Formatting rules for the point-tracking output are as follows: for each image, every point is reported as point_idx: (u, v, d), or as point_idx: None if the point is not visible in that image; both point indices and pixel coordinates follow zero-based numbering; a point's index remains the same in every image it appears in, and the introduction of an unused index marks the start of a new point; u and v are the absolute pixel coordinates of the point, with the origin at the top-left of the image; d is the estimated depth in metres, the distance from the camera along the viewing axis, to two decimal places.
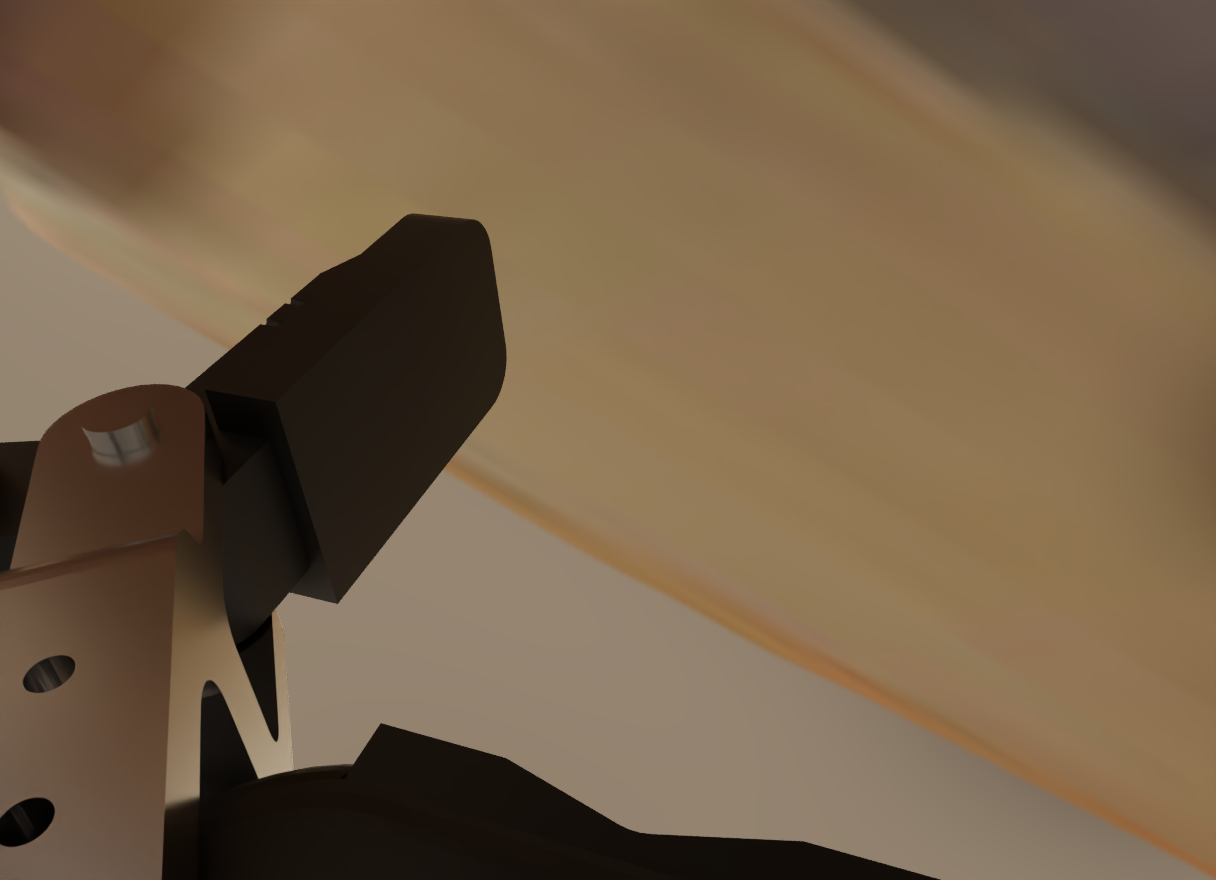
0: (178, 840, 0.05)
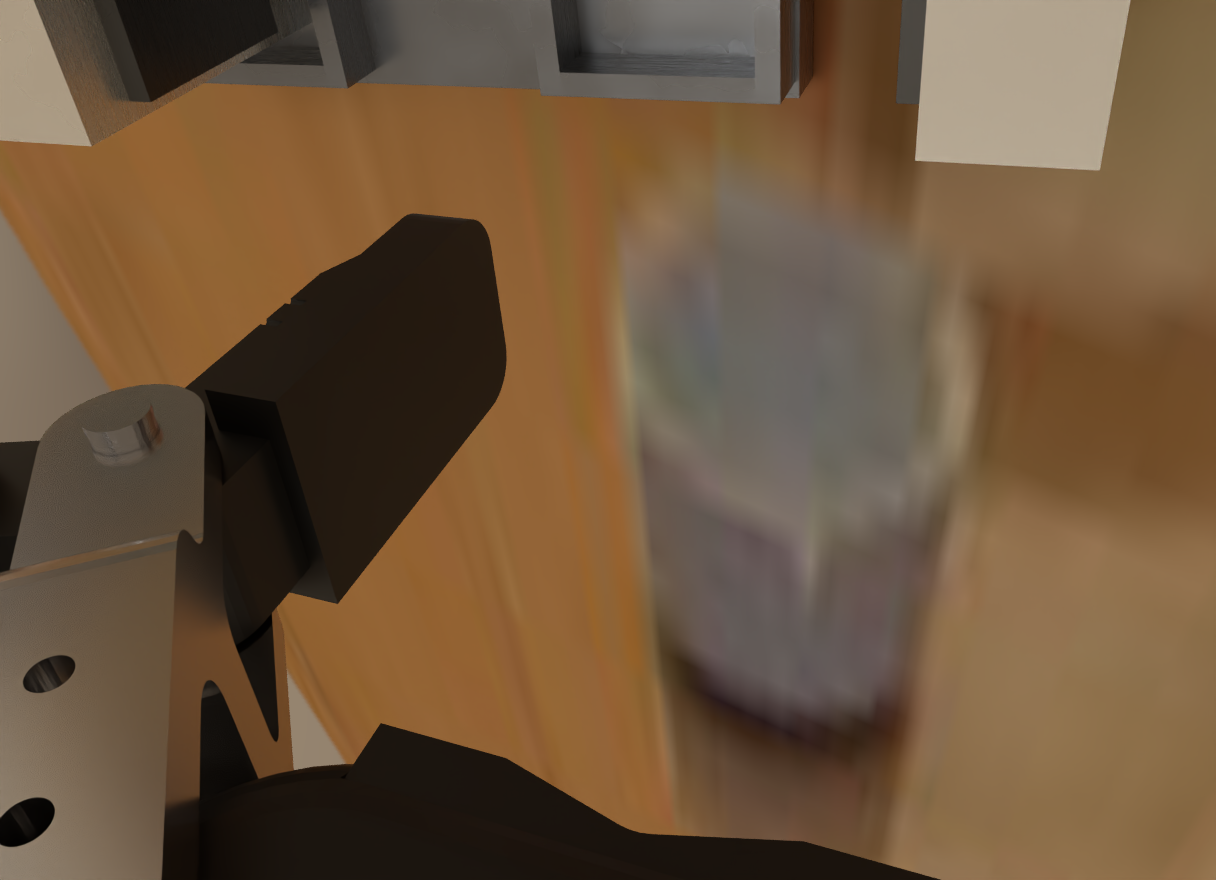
0: (180, 840, 0.05)
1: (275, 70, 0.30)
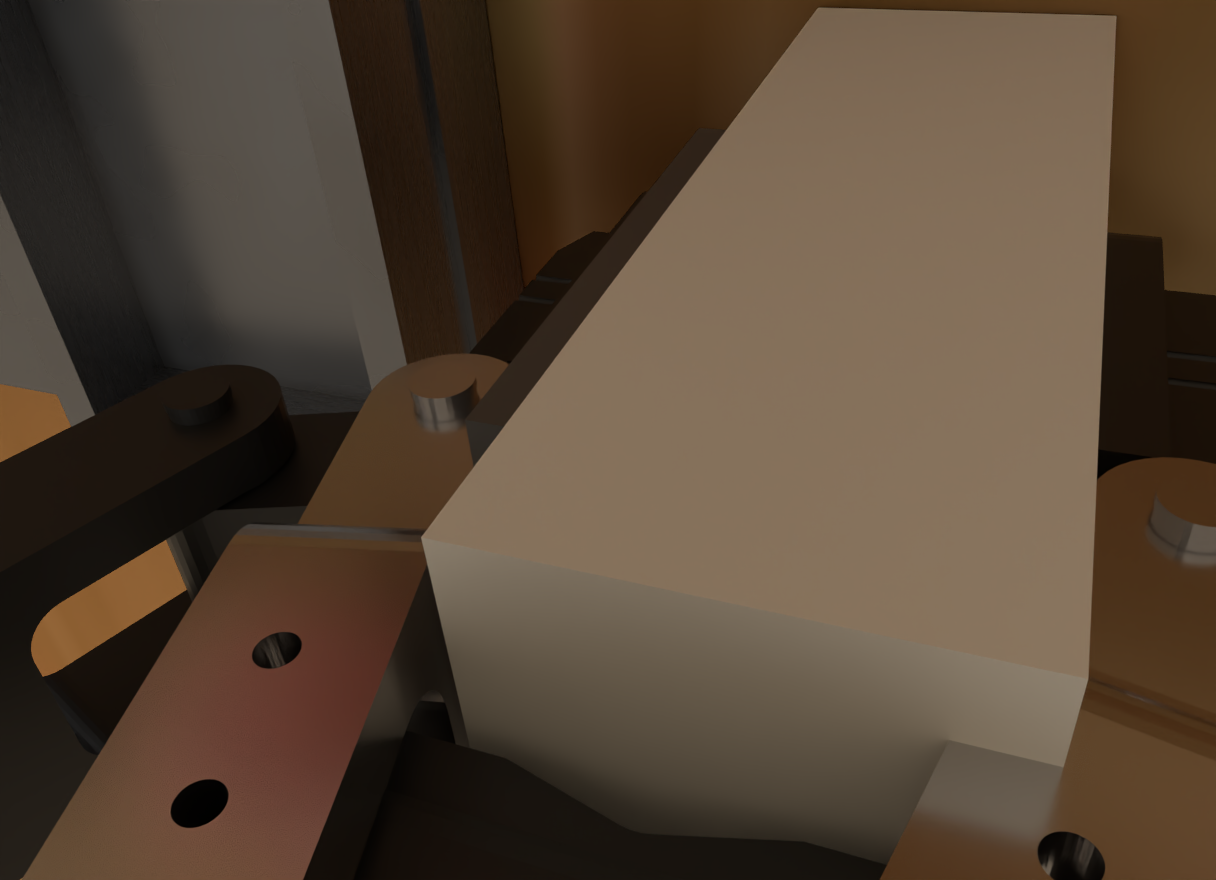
0: (328, 875, 0.05)
1: None
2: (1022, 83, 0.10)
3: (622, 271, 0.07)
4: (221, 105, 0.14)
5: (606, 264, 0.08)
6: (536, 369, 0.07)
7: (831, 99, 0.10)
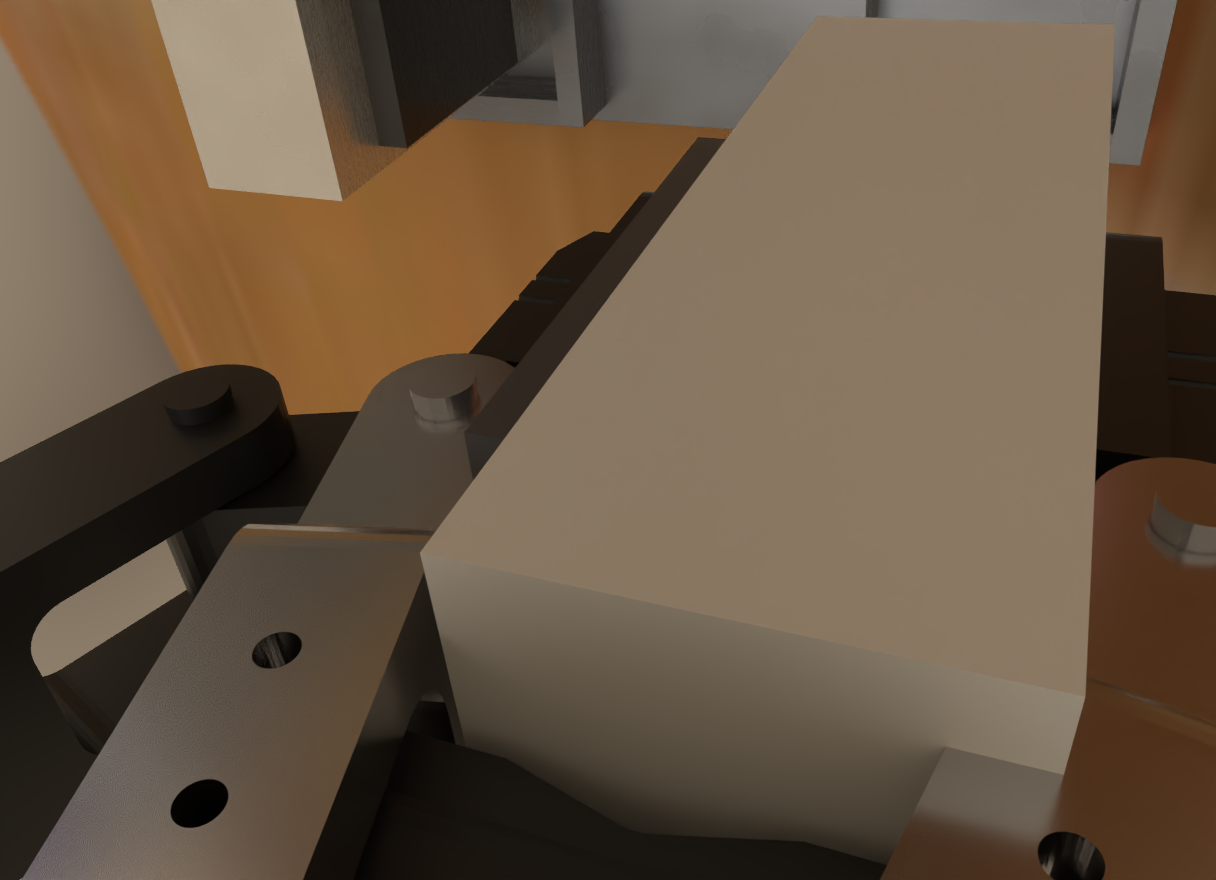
0: (327, 875, 0.05)
1: (495, 104, 0.26)
2: (1020, 93, 0.10)
3: (621, 283, 0.07)
4: None
5: (606, 275, 0.08)
6: (535, 381, 0.07)
7: (830, 108, 0.10)
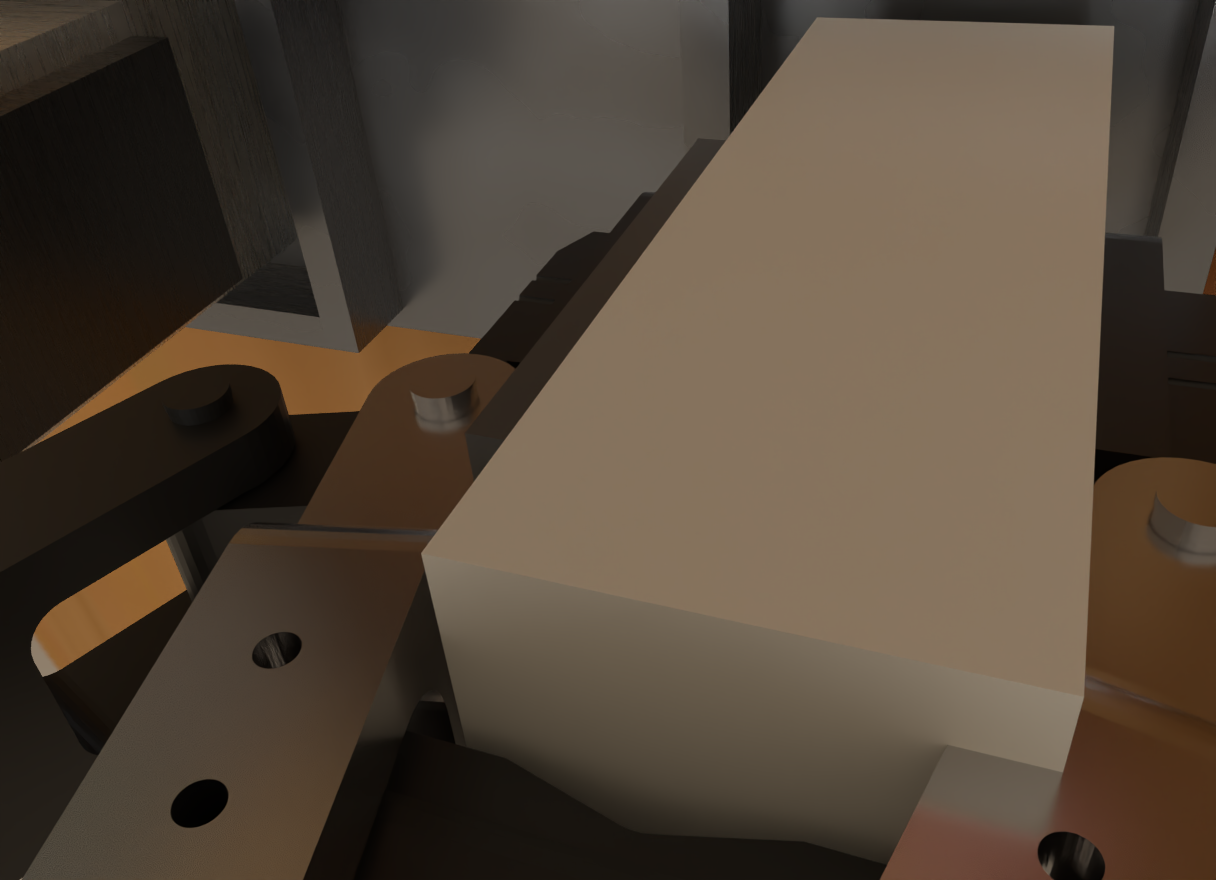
0: (327, 875, 0.05)
1: (240, 314, 0.19)
2: (1019, 94, 0.10)
3: (621, 284, 0.07)
4: None
5: (606, 276, 0.08)
6: (536, 382, 0.07)
7: (829, 111, 0.10)
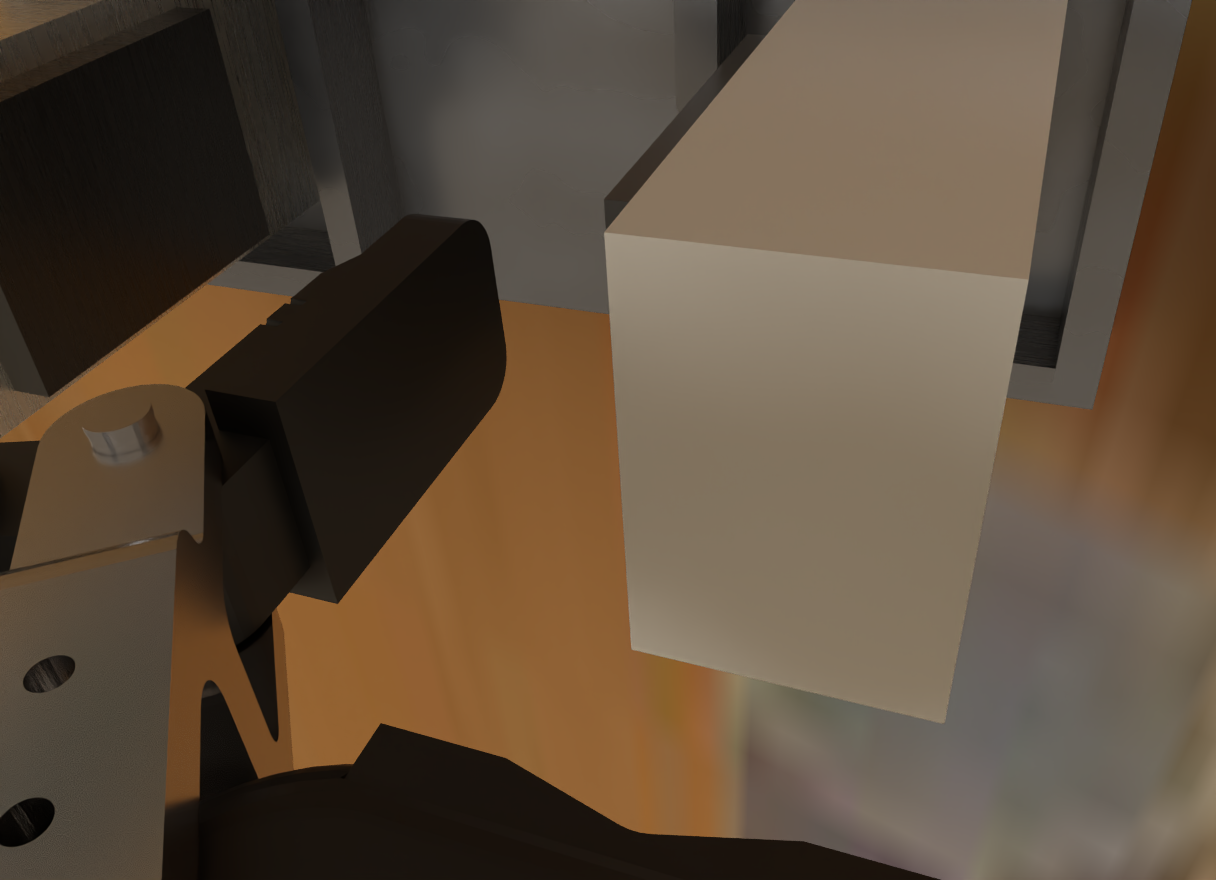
0: (178, 842, 0.05)
1: (262, 272, 0.20)
2: None
3: (710, 104, 0.10)
4: None
5: (689, 115, 0.11)
6: (648, 173, 0.10)
7: (853, 7, 0.13)
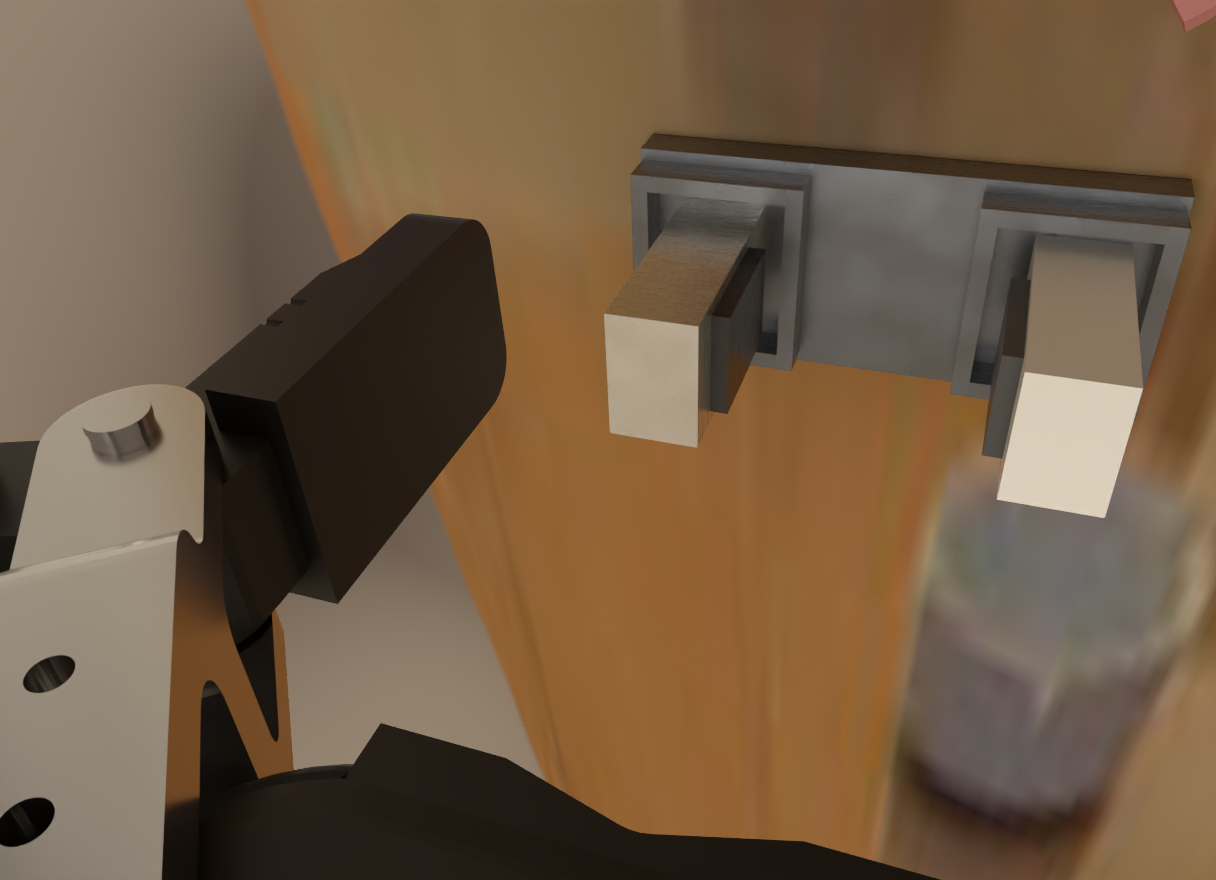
0: (179, 839, 0.05)
1: None
2: (1109, 270, 0.35)
3: (1029, 323, 0.32)
4: None
5: (1010, 320, 0.33)
6: (1010, 345, 0.32)
7: (1056, 274, 0.35)
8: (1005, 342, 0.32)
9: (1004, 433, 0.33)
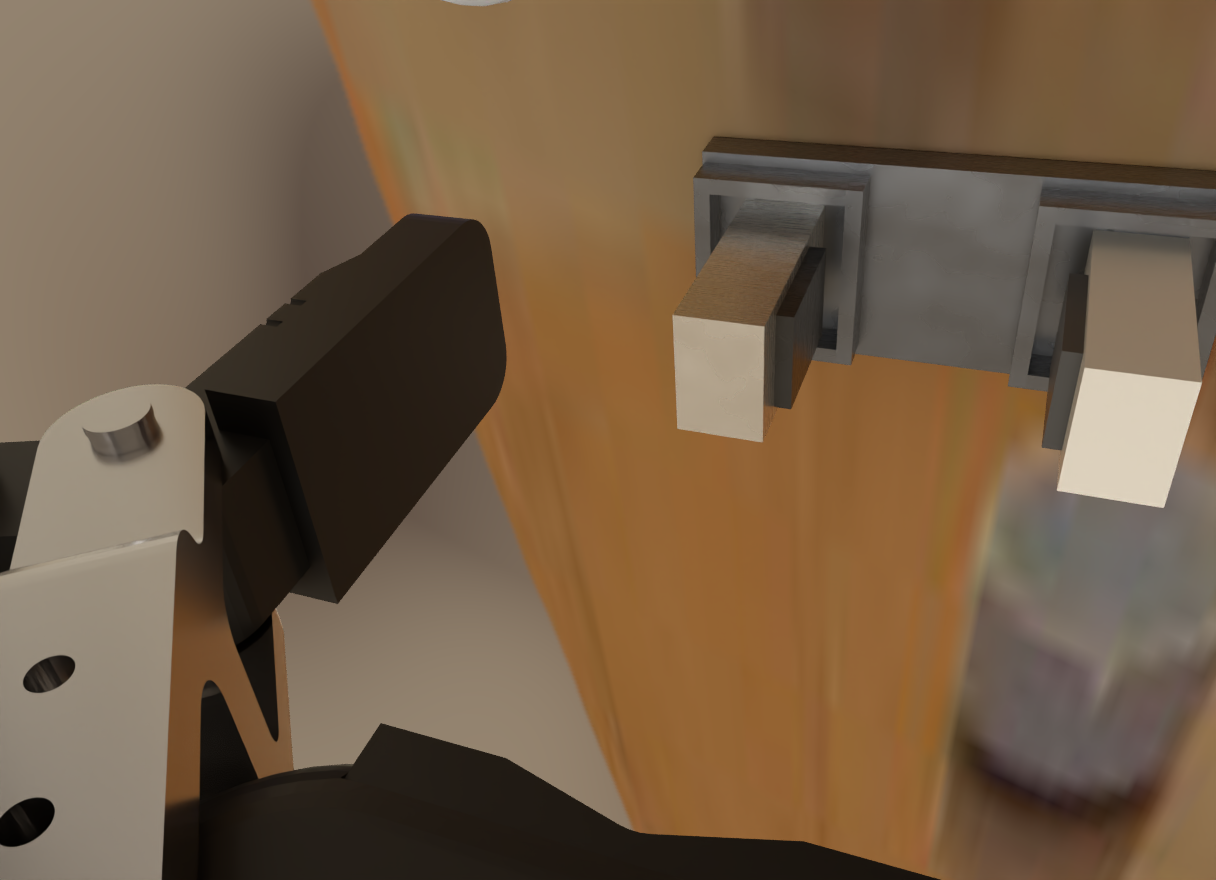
0: (178, 840, 0.05)
1: None
2: (1166, 265, 0.35)
3: (1088, 319, 0.33)
4: None
5: (1069, 315, 0.34)
6: (1069, 340, 0.33)
7: (1114, 269, 0.35)
8: (1064, 338, 0.33)
9: (1064, 426, 0.34)
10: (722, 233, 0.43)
